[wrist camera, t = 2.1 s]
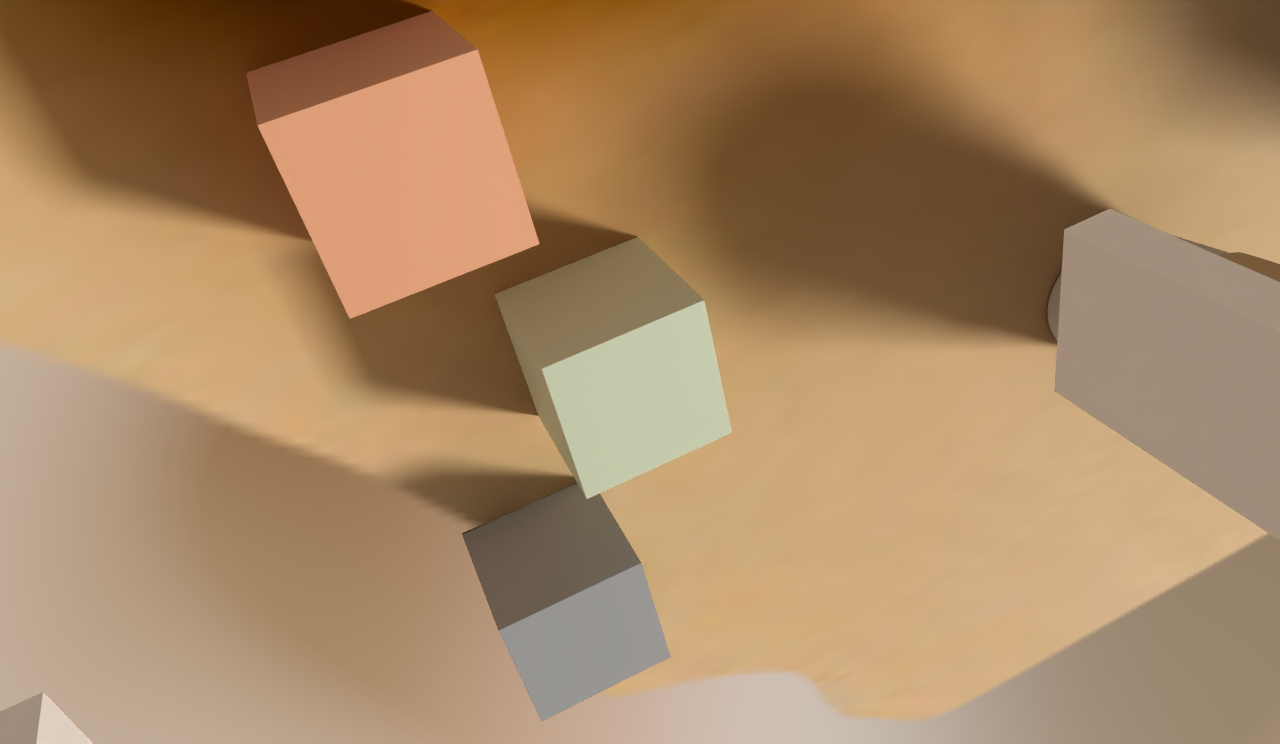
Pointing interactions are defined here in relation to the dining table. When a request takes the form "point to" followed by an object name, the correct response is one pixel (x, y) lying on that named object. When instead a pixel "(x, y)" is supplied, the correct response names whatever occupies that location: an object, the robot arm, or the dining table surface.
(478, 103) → the terracotta cube
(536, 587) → the slate cube
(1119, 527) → the dining table surface
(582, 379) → the sage cube
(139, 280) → the dining table surface
